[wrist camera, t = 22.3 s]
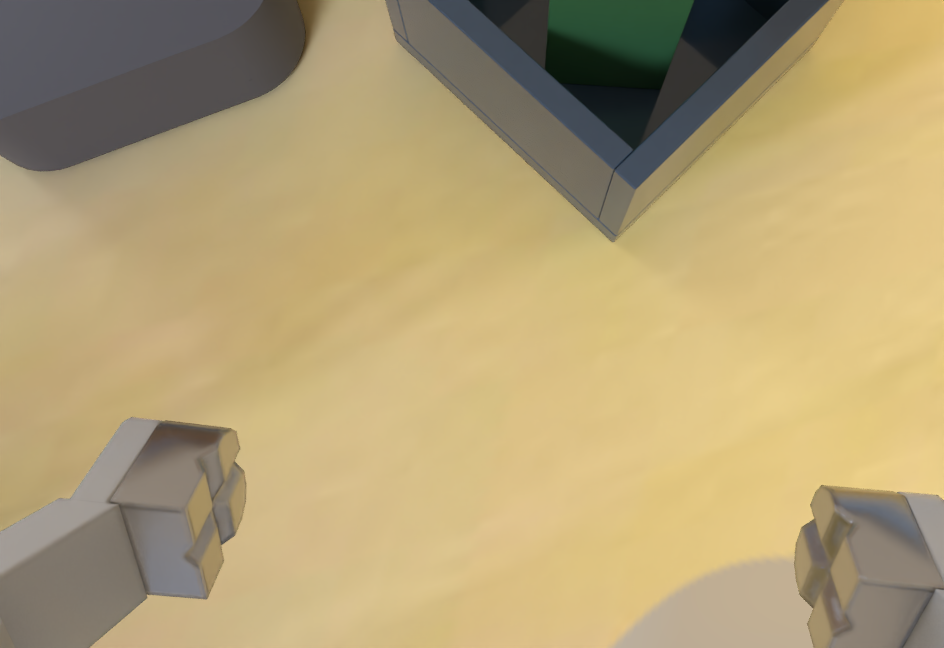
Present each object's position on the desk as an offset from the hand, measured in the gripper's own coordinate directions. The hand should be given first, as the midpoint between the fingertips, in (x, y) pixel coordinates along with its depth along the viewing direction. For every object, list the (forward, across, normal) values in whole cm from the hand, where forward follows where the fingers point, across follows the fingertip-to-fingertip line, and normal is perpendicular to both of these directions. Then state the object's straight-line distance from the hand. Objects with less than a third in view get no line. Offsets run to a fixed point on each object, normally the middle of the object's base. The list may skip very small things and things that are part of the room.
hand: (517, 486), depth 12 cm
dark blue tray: (+28, -2, +2) cm, 28 cm away
